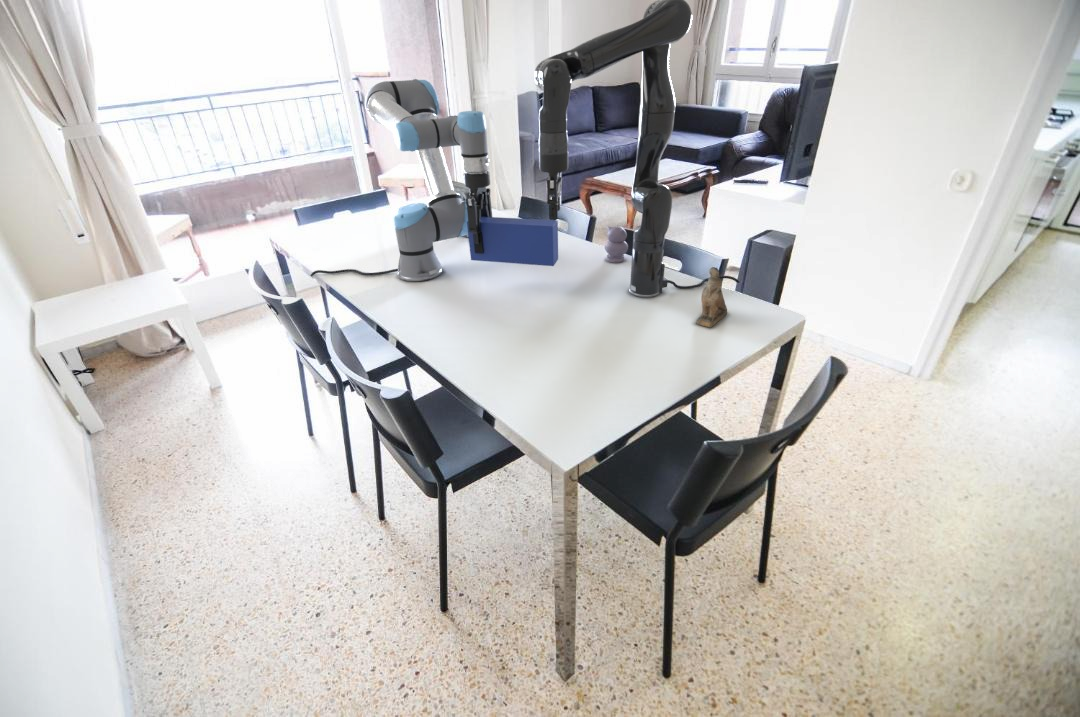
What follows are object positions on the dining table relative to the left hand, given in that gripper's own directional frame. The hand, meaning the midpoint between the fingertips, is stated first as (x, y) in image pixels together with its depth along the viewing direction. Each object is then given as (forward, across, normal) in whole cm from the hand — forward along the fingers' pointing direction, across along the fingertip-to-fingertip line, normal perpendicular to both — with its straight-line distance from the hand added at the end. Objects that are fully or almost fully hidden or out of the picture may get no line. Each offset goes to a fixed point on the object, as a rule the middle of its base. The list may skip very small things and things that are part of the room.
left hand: (483, 249), depth 154 cm
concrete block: (+14, +54, +32) cm, 65 cm away
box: (+3, 0, -10) cm, 10 cm away
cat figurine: (+14, +36, -36) cm, 53 cm away
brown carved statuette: (+13, -5, -70) cm, 71 cm away
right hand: (-14, -8, -25) cm, 30 cm away
